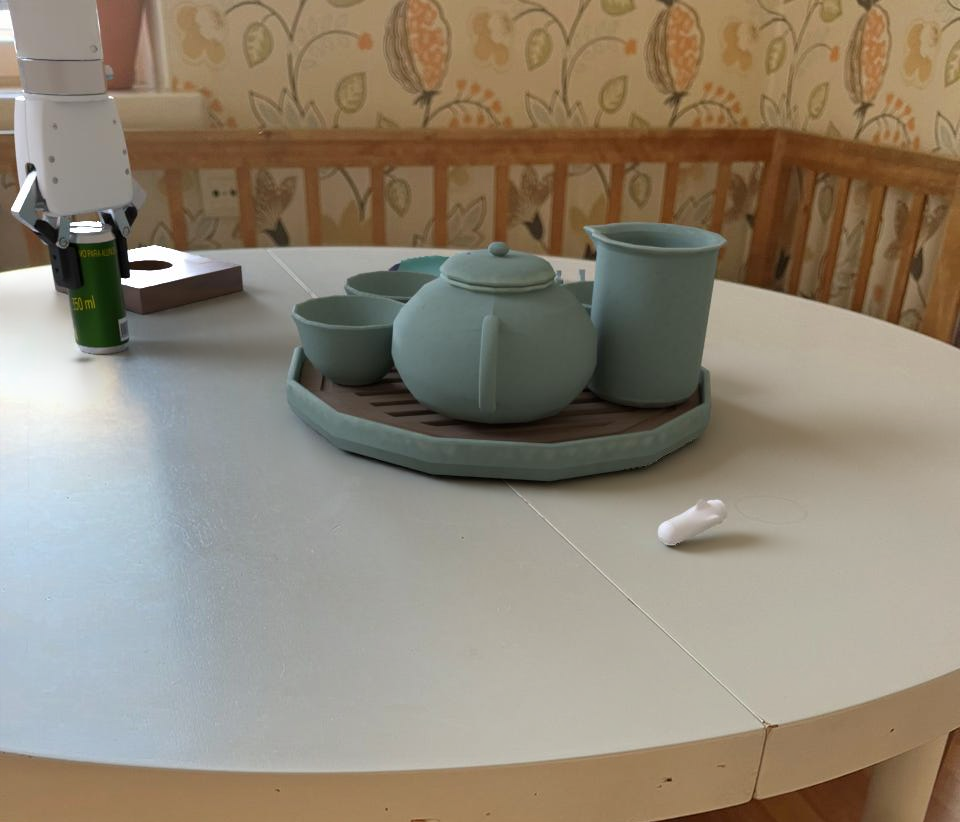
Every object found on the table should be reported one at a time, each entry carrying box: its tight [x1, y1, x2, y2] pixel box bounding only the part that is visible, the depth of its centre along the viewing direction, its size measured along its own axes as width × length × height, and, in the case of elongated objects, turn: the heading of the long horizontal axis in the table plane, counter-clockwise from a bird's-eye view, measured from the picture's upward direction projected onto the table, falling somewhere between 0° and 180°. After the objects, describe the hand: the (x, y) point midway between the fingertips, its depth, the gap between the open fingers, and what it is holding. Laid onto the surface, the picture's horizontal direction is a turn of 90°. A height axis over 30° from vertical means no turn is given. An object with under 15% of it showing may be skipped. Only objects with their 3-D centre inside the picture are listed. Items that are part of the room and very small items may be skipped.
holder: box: [50, 245, 244, 315], centre depth 130 cm, size 16×16×3 cm
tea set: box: [285, 221, 728, 482], centre depth 96 cm, size 40×40×16 cm
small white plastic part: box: [654, 498, 728, 545], centre depth 76 cm, size 4×6×3 cm, turn 97°
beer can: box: [67, 221, 130, 355], centre depth 107 cm, size 5×5×12 cm
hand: (93, 280), depth 106 cm, fingers closed on beer can, 5 cm apart
